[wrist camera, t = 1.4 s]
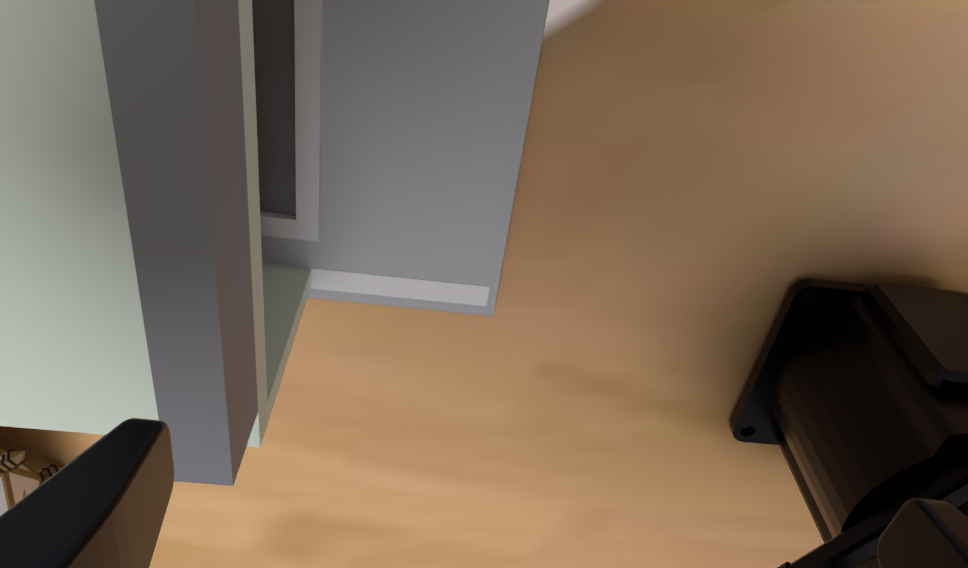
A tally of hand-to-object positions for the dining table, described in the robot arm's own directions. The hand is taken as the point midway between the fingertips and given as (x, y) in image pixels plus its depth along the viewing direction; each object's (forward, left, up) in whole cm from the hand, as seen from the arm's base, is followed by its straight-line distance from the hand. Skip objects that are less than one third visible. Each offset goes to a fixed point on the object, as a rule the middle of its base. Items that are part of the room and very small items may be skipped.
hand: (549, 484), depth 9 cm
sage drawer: (0, +8, -12) cm, 15 cm away
